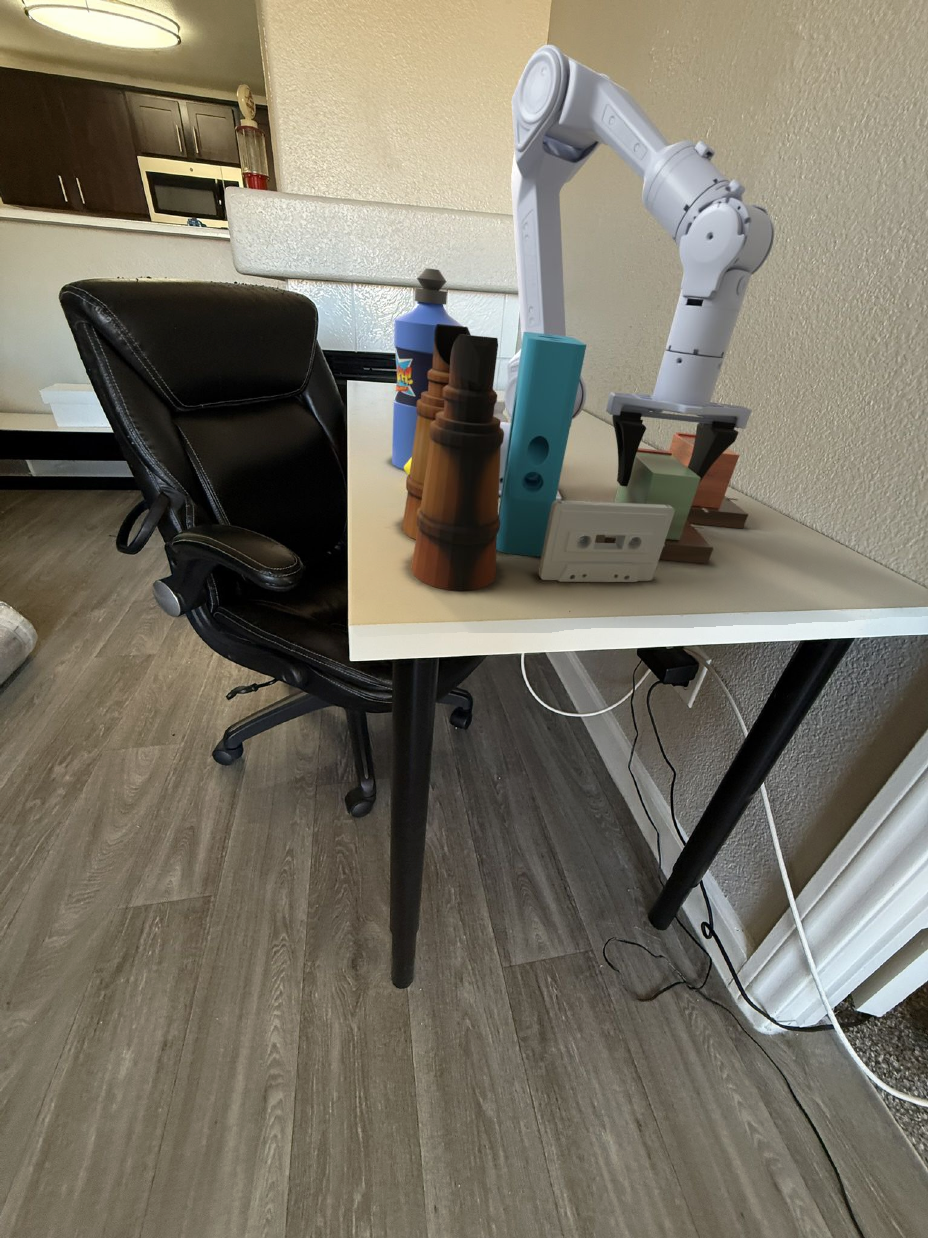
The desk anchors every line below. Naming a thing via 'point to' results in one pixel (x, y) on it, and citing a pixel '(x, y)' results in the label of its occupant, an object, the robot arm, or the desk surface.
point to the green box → (661, 486)
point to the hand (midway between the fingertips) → (655, 487)
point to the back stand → (719, 515)
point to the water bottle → (415, 358)
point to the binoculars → (456, 465)
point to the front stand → (678, 545)
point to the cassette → (604, 562)
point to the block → (537, 439)
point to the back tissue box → (715, 478)
